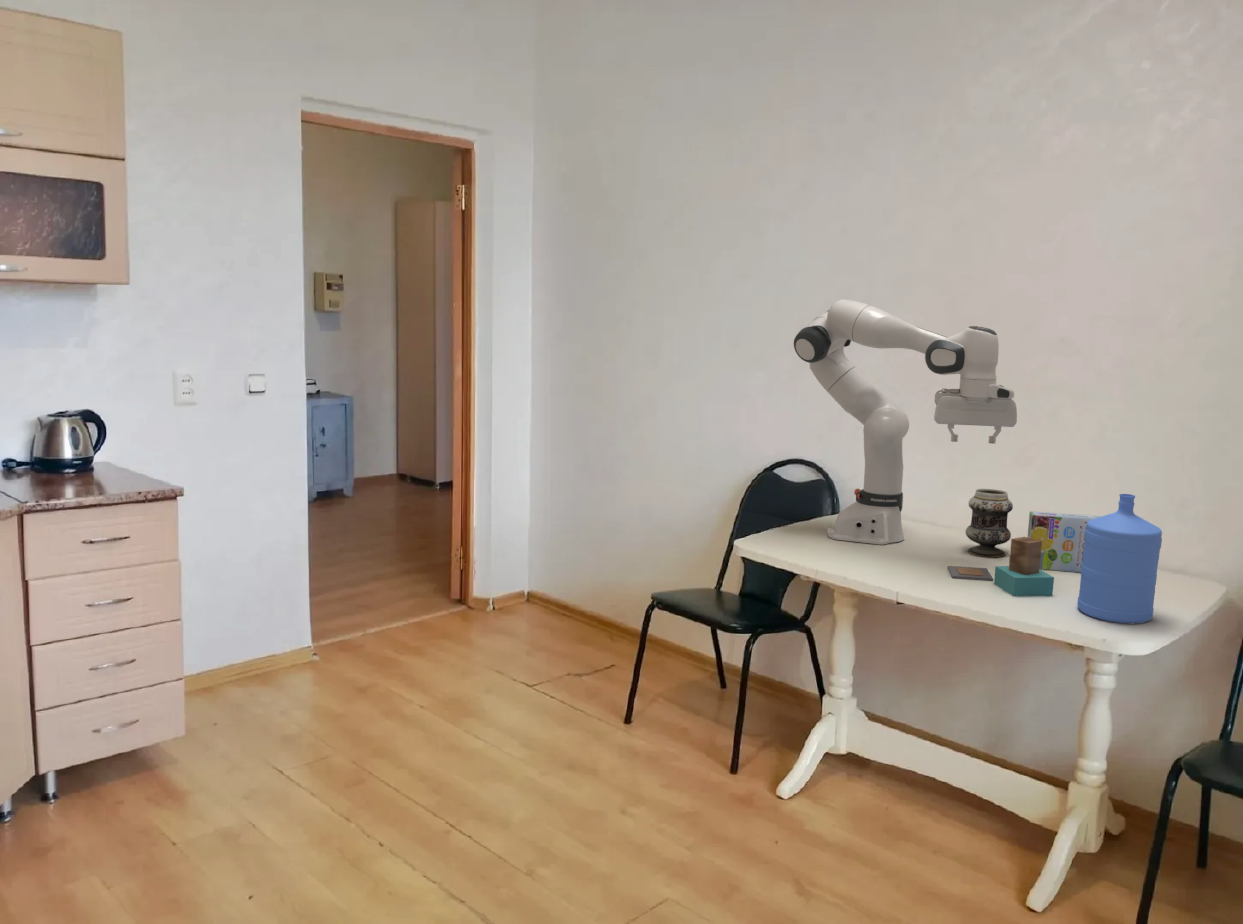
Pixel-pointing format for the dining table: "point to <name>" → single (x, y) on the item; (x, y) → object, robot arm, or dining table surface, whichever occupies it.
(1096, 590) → the water jug
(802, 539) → the dining table surface
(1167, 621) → the dining table surface
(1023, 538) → the walnut block
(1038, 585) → the teal base block
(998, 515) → the apothecary jar
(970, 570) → the card
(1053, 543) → the snack box
